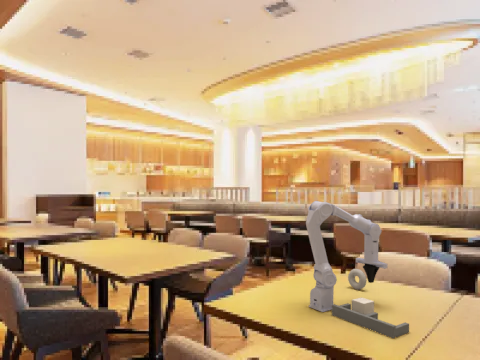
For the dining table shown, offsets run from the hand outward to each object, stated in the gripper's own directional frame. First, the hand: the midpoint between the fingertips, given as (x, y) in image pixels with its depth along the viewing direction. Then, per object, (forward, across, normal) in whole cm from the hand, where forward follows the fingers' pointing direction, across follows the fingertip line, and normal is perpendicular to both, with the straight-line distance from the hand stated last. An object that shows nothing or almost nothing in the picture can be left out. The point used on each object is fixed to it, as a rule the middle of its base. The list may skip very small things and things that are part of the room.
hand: (370, 282), depth 162 cm
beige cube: (+10, -7, +15) cm, 19 cm away
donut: (+10, +18, -14) cm, 25 cm away
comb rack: (+9, -13, +20) cm, 26 cm away
